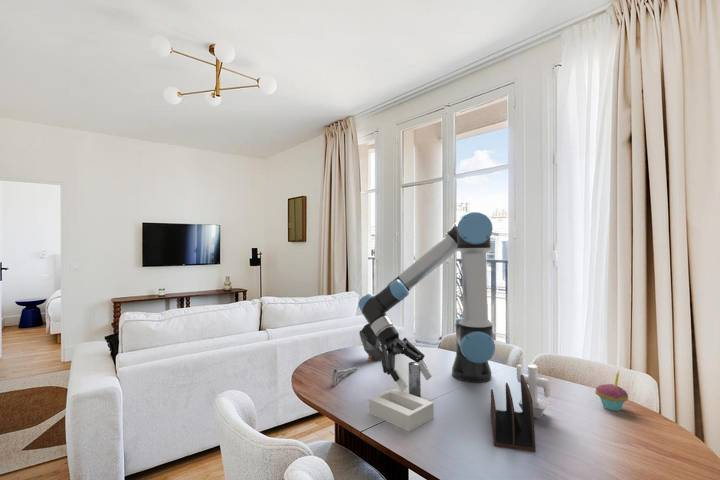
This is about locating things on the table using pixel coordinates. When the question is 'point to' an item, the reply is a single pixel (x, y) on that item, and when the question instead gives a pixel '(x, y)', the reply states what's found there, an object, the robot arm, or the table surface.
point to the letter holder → (514, 422)
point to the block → (401, 409)
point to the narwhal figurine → (370, 343)
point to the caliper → (340, 374)
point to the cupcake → (612, 395)
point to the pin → (414, 379)
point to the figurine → (535, 388)
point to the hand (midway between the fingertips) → (417, 383)
